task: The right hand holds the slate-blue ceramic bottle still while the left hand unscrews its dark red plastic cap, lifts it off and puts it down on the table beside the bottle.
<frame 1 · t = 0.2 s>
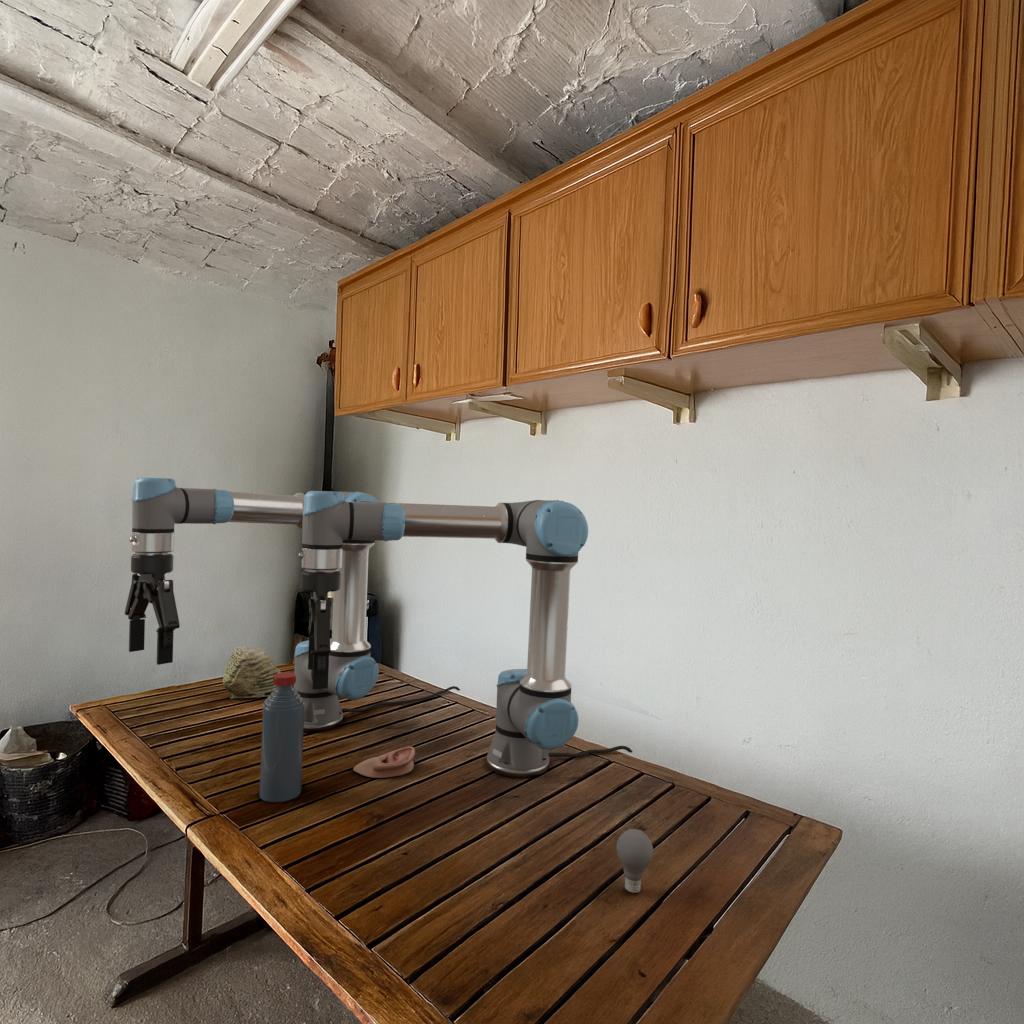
left hand: (150, 656, 129), 29 cm above the table, tool pointing down, fingers open, 13 cm apart
right hand: (317, 678, 124), 28 cm above the table, tool pointing down, fingers open, 13 cm apart
fossil: (254, 694, 198), on the table
anatomical model: (384, 768, 149), on the table
cap: (284, 676, 134), point 25 cm above the table, screwed on, not yet turned
bottle: (280, 793, 135), on the table
light bulb: (632, 891, 106), on the table
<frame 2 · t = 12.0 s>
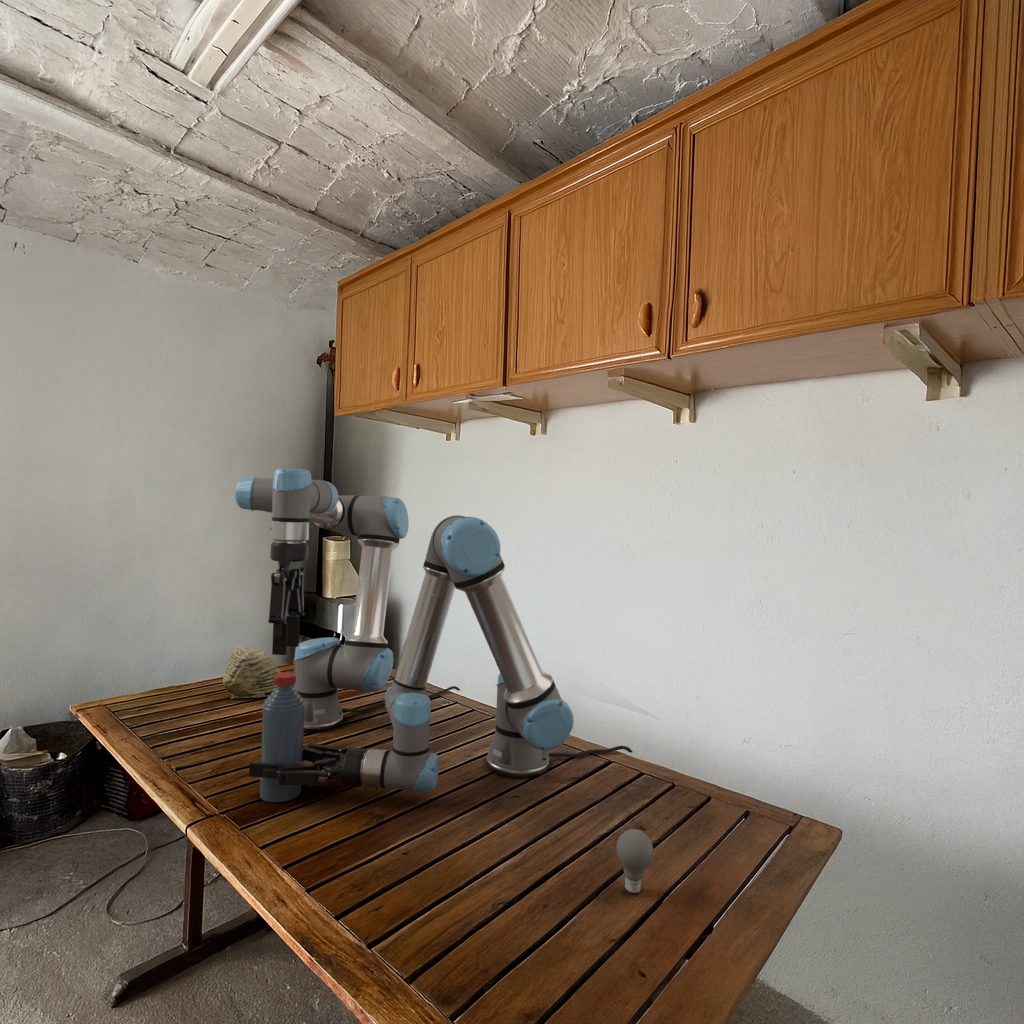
left hand: (285, 649, 134), 31 cm above the table, tool pointing down, fingers open, 7 cm apart
right hand: (260, 760, 135), 7 cm above the table, tool horizontal, fingers closed on bottle, 8 cm apart
bottle: (280, 793, 135), on the table, touching right hand
everything else where it was.
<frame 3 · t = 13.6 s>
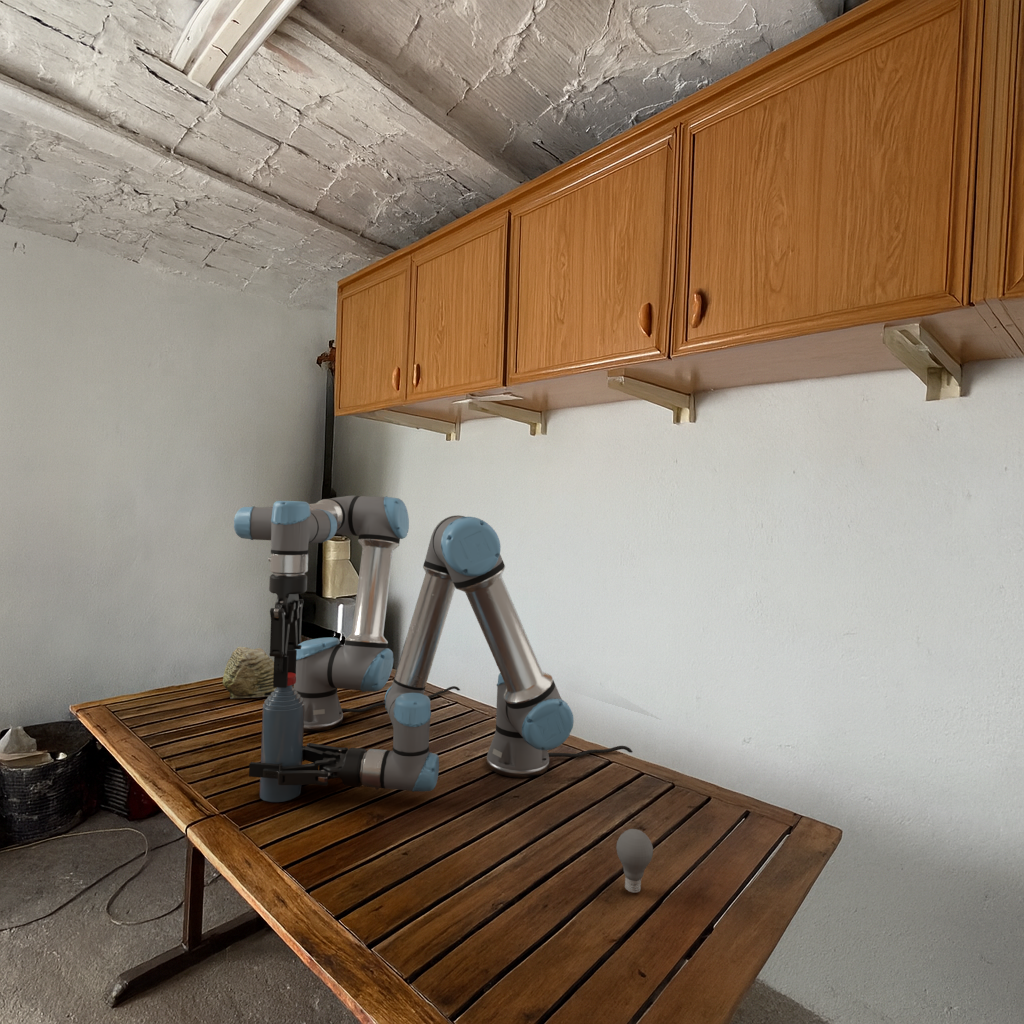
left hand: (284, 683, 134), 23 cm above the table, tool pointing down, fingers closed on cap, 4 cm apart
right hand: (260, 760, 135), 7 cm above the table, tool horizontal, fingers closed on bottle, 8 cm apart
cap: (284, 676, 134), point 25 cm above the table, screwed on, not yet turned, touching left hand
bottle: (280, 793, 135), on the table, touching right hand
everything else where it was.
when the left hand's fingers open (1 cm above the table, at t = 31.7 s): cap stays where it is, point 1 cm above the table.
when the right hand's fingers open (7 cm above the table, at t = 33.0 s): bottle stays where it is, on the table.
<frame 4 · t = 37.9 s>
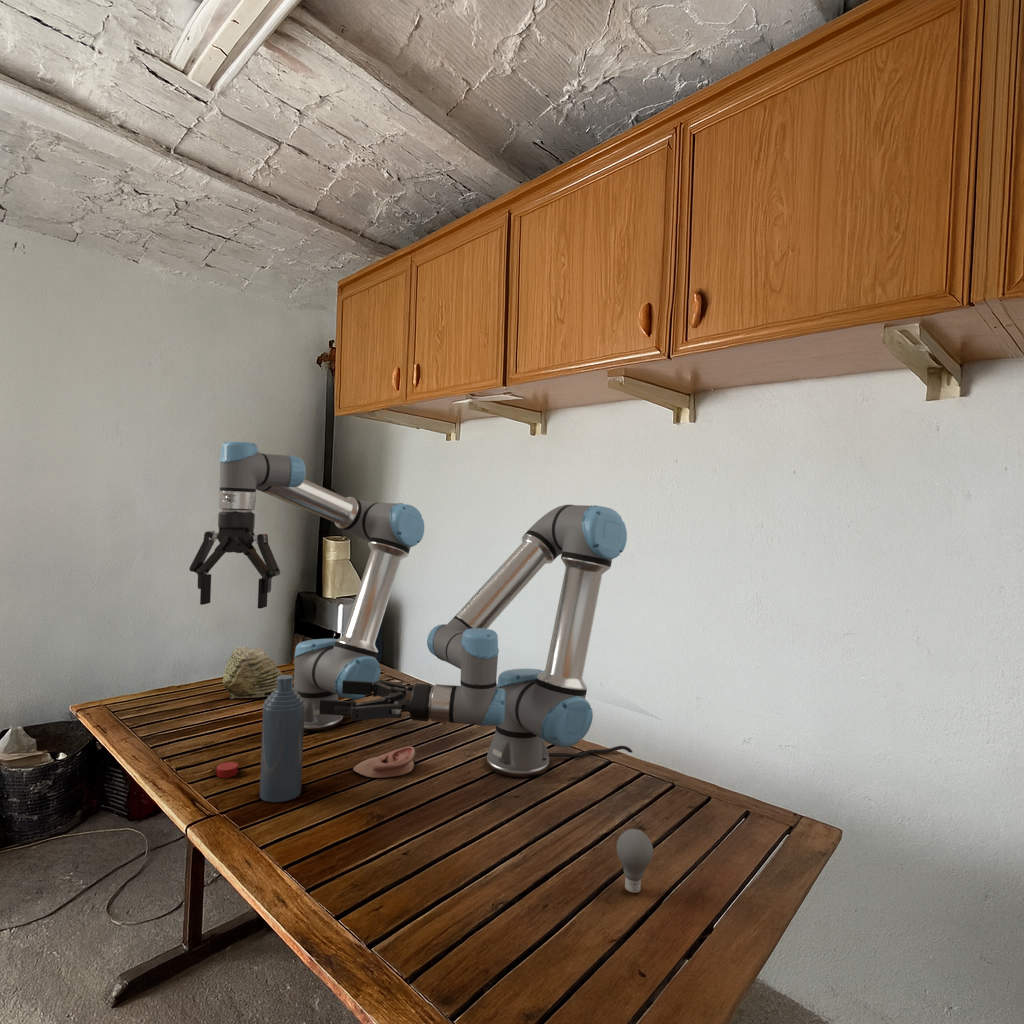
left hand: (233, 605, 142), 38 cm above the table, tool pointing down, fingers open, 13 cm apart
right hand: (331, 696, 134), 21 cm above the table, tool horizontal, fingers open, 13 cm apart
cap: (227, 767, 143), point 1 cm above the table, off its thread
bottle: (280, 793, 135), on the table
everything else where it was.
at the end: cap came off its thread; cap point 1.5 cm above the table; the left hand is holding nothing; the right hand is holding nothing; bottle tilted 0°; bottle moved 0.0 cm from its start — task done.
